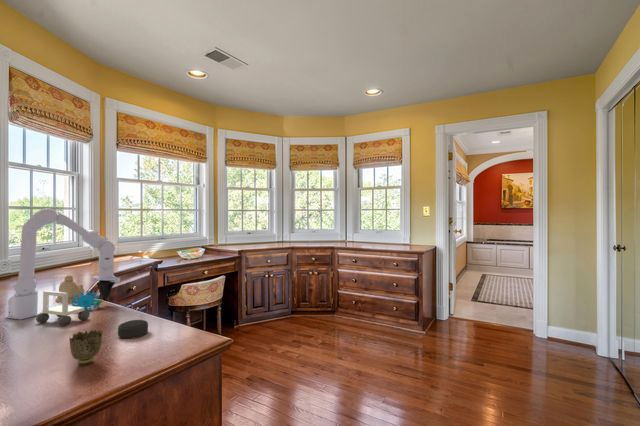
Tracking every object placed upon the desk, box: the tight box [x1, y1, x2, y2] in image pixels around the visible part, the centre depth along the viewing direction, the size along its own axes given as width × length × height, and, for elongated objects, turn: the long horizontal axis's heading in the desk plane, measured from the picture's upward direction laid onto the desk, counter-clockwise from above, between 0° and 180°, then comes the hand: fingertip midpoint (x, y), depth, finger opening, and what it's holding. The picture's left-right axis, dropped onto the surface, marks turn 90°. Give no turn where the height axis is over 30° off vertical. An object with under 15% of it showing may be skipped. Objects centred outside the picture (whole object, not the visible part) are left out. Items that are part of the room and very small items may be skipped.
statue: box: [55, 274, 85, 303], centre depth 155 cm, size 12×14×10 cm
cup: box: [68, 329, 104, 366], centre depth 89 cm, size 8×7×8 cm
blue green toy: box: [70, 290, 104, 312], centre depth 140 cm, size 11×6×10 cm
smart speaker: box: [117, 319, 149, 340], centre depth 110 cm, size 9×9×4 cm
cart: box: [35, 290, 91, 327], centre depth 124 cm, size 13×11×12 cm
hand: (105, 297), depth 147 cm, fingers closed
